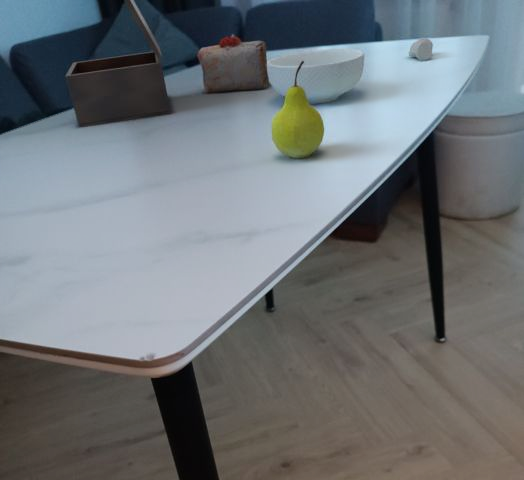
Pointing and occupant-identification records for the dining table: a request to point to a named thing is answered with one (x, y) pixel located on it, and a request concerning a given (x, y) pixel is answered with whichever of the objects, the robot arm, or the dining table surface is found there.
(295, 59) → the cereal bowl
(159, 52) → the lid
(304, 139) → the fruit
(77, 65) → the chest
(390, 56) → the dining table surface
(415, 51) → the pale two-lobed sculpture
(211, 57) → the food item
